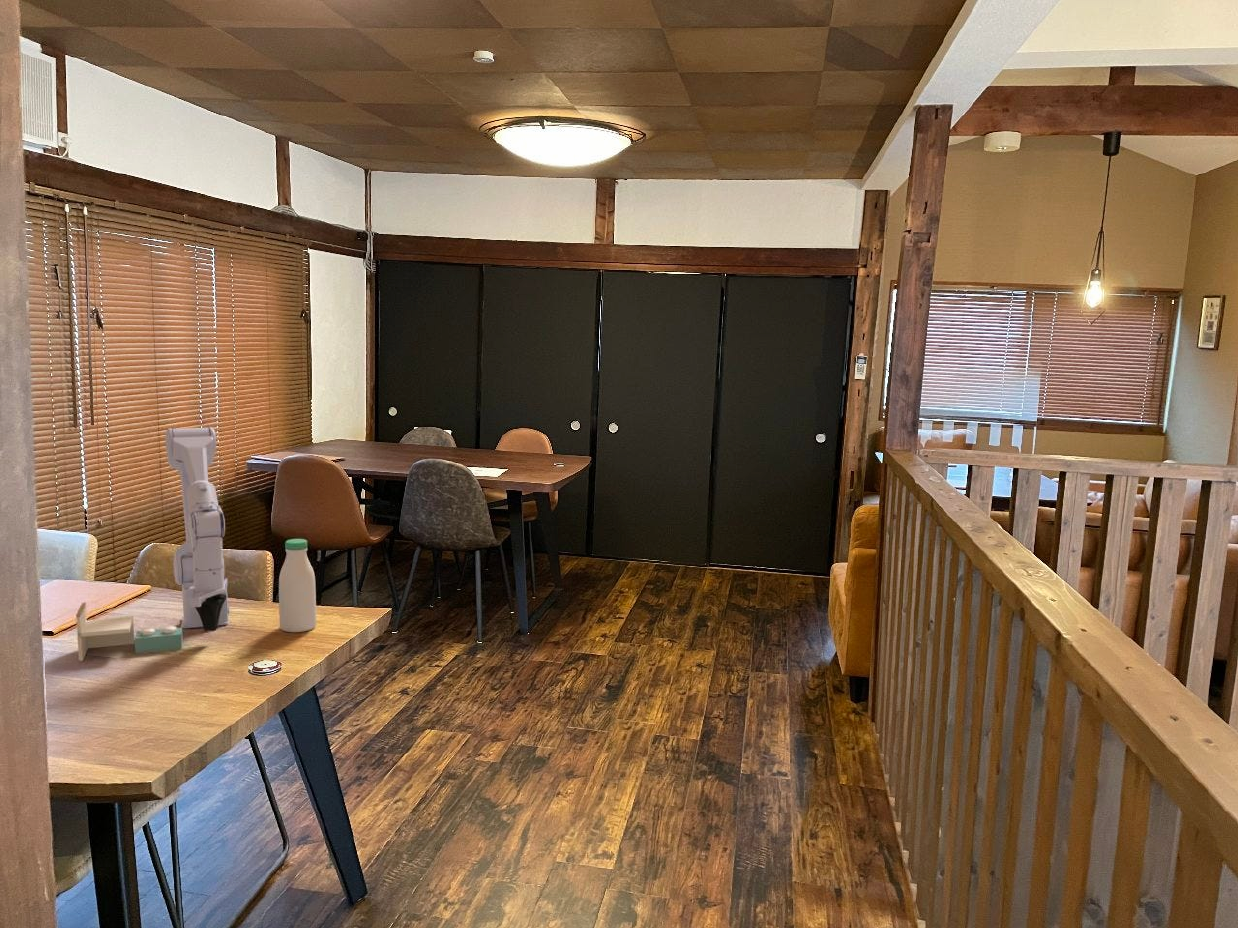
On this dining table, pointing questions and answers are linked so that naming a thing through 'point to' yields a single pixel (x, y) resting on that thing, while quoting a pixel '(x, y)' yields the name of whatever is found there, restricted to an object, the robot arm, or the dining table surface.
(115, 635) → the beige flanged peg
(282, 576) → the milk bottle
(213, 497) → the robot arm
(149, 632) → the teal block
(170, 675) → the dining table surface
